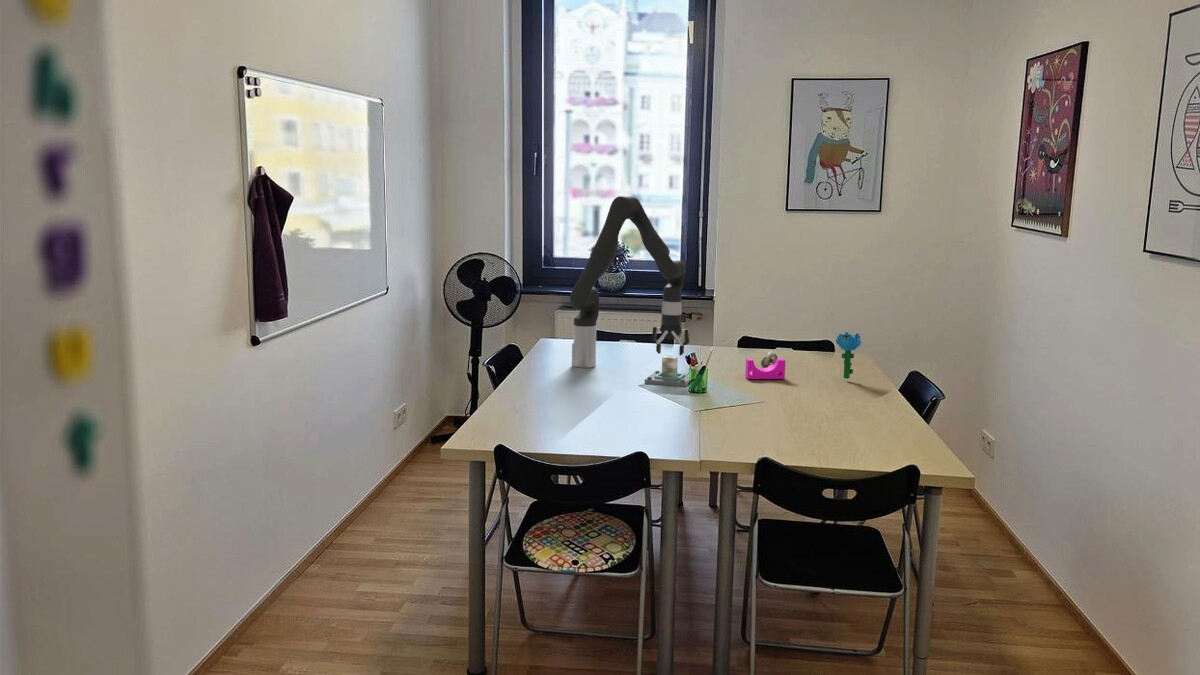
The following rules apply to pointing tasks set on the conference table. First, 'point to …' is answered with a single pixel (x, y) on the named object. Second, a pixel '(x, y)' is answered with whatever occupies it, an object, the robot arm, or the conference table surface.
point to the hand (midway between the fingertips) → (669, 354)
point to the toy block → (766, 370)
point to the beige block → (669, 366)
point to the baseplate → (667, 379)
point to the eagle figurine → (769, 359)
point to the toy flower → (848, 350)
